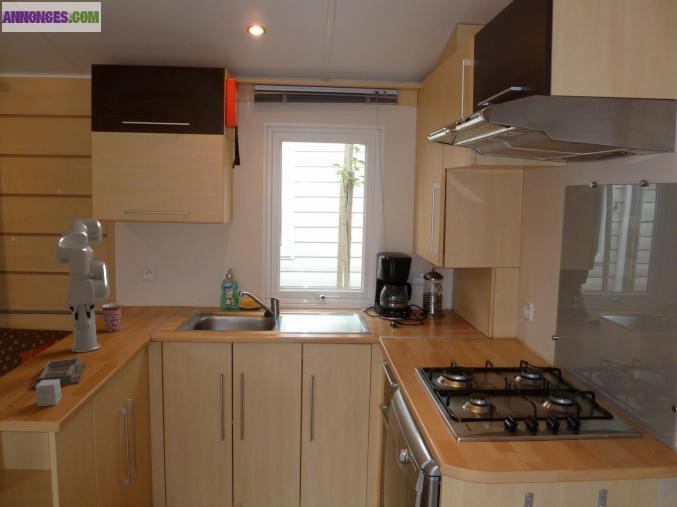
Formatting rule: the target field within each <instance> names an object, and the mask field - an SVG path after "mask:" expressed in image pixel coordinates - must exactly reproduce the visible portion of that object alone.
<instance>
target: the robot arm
mask: <svg viewBox="0 0 677 507" xmlns="http://www.w3.org/2000/svg"><path fill="white" fill-rule="evenodd" d="M102 241H103V227H102V223H101V222H100V221H99V220H98V219H96V218H79V219H73V220H71V221H69V222H68V223H67V224H66V228H65V229H63V231H62V232H61V238H59V239H58V240H57V241H56V243H55V246H54V248H55V251H54V252H55V253H54V254H55V255H54V256H55V260H56V262H57V263H58V264H60V265H68V272H69V273H68V276H69V280H68V282H67V289H66V290H67V298H66V299H67V300H66V301H65V303H64V305H63V307H64V308H66V309H69V310H71V320H72V323H71V324H72V332H73V334H72V336H73V345H72V346H71V347H70V351H71V352H72V353H88V352H93V351H95V350H99V349H100V348H101V347H102V346H101V343H99V342H98V341H97V339H98V338H97V327H96V315H95V314H96V313H95V309H94V307H97V306H99V305H100V302H99V301H105V300H107V299H109V297H110V293H111V287H110V280H109V279H110V278H109V271H108V267H107V264H106V263H105V262H104V261H103V260H96V261H95V260H93V261H92V259H93V258H94V250H93V248H92V247H91V245H97V244H100V243H101V242H102ZM80 302H82V303H83V304H85V305H86V307H87V312H86V314H87V318H88V316H89V319H90V320H91V326H90V328H89V329H88V330H85V331H79V330H78V328H77V327H76V320H78V311H77V310H78V305H80Z"/></svg>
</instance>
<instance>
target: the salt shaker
mask: <svg viewBox="0 0 677 507" xmlns="http://www.w3.org/2000/svg"><path fill="white" fill-rule="evenodd" d="M77 311H78V320H76V327H77V328H78V330H79V331H85V330H88V329H89V328H90V326H91V320H90V319H89V316H88V318H87V314H86V312H87V307H86V305H85V304H83V303H82V302H80V305H78V310H77Z"/></svg>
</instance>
